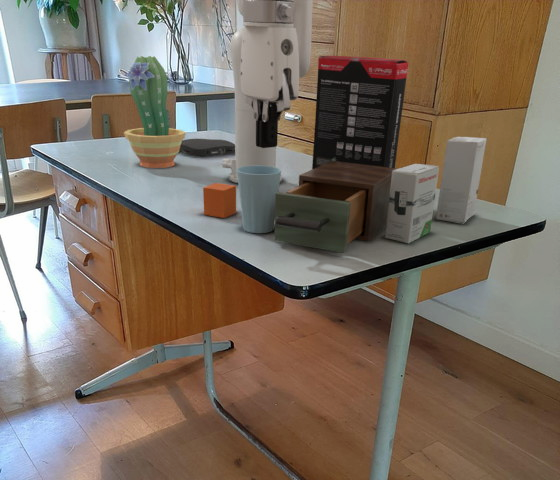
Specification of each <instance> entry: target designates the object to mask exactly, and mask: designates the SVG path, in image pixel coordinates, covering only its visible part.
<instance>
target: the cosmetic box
mask: <svg viewBox="0 0 560 480" xmlns="http://www.w3.org/2000/svg"><path fill="white" fill-rule="evenodd" d="M487 141H488V140H487V137H486V138H485V137H471V136H455V137H452V138H450V139H448V140H447V141H446V144H445V145H446V146H445V153H444V160H443V167H442V173H441V174H442V175H441V180H440V187H439V193H438V194H439V195H438V202H437V209H436V214H435V215H436V216H435V219H436V220H439V221H447V222H451V223H456V224H461V225H464V224H466V222H467V221H468V220H469V219H471V218H472V217H474V214H475V210H476V204H477V199H478V193H479V186H480V182H481V175H482V169H483V163H484V155H485V151H486V146H487V145H486V144H487Z"/></svg>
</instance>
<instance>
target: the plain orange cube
mask: <svg viewBox="0 0 560 480" xmlns="http://www.w3.org/2000/svg"><path fill="white" fill-rule="evenodd" d="M202 193H203V195H202V196H203V215H204V216H209V217H215V218H221V219H225V218H229V217H230V216H232V215H234V214H237V185H233V184H225V183H220V182H214V183H211V184H209V185H207V186H204V187H202Z"/></svg>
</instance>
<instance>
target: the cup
mask: <svg viewBox="0 0 560 480" xmlns="http://www.w3.org/2000/svg"><path fill="white" fill-rule="evenodd" d="M281 175H282V169H280V168H278V167H277V166H276V167H271V166H261V165H253V166H243V167H239V168H238V169H237V177H238V183H237V184H238V192H239V193H238V194H239V202H240V210H241V218H242V219H241V220H242V227H243V231H245V232H247V233H250V234H251V233H252V234H266V233H271V232H272V231H274V230H275V199H276V193H278V192H280V191H279V190H280V183H281V181H280V176H281Z"/></svg>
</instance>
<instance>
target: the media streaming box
mask: <svg viewBox="0 0 560 480" xmlns="http://www.w3.org/2000/svg"><path fill="white" fill-rule="evenodd" d="M178 153H181V154H185V155H189V156H192V157H197V158H198V157H199V158H207V157H217V156H225V155H232V154H235V143H234V142H232V141H229V140H227V139H210V138H188V139H183V140H182V142H181V146H180V150H179V152H178Z"/></svg>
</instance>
